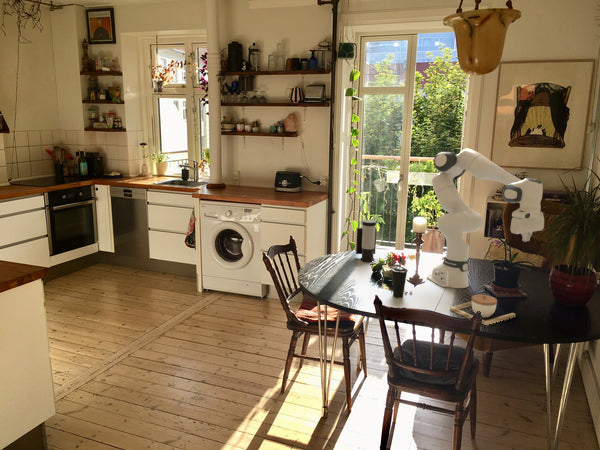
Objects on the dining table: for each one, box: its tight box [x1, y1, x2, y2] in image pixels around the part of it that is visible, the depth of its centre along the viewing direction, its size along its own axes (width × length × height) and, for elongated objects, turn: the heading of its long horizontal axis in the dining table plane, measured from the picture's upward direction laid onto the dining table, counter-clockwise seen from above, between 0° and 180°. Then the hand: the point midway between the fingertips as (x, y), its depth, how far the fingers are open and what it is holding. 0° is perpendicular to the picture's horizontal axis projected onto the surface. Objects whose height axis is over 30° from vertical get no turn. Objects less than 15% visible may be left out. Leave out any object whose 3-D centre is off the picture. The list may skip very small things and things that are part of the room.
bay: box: [449, 300, 517, 326], centre depth 223 cm, size 20×20×2 cm
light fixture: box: [355, 219, 377, 263], centre depth 299 cm, size 12×11×25 cm
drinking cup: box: [391, 256, 408, 299], centre depth 240 cm, size 8×8×20 cm
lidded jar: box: [471, 294, 498, 319], centre depth 220 cm, size 11×11×9 cm
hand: (525, 240), depth 234 cm, fingers closed
